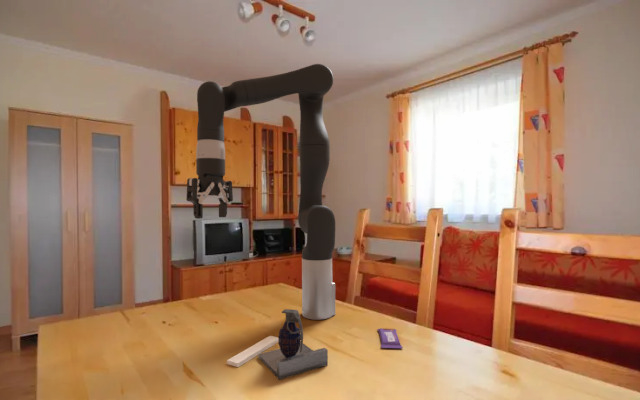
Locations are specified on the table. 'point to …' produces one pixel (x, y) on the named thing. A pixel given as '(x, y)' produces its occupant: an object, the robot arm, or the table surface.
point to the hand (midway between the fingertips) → (211, 217)
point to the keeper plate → (294, 361)
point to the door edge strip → (252, 351)
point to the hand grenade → (291, 334)
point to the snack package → (389, 338)
